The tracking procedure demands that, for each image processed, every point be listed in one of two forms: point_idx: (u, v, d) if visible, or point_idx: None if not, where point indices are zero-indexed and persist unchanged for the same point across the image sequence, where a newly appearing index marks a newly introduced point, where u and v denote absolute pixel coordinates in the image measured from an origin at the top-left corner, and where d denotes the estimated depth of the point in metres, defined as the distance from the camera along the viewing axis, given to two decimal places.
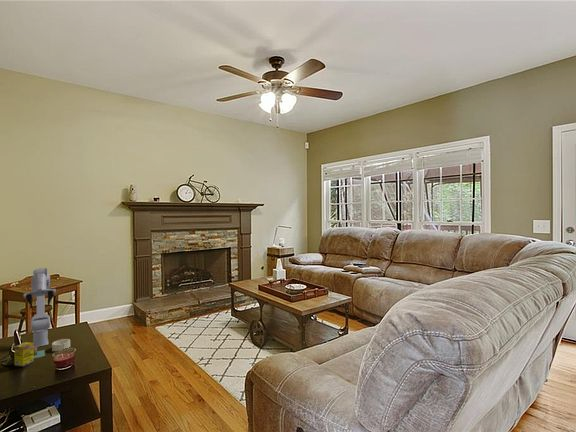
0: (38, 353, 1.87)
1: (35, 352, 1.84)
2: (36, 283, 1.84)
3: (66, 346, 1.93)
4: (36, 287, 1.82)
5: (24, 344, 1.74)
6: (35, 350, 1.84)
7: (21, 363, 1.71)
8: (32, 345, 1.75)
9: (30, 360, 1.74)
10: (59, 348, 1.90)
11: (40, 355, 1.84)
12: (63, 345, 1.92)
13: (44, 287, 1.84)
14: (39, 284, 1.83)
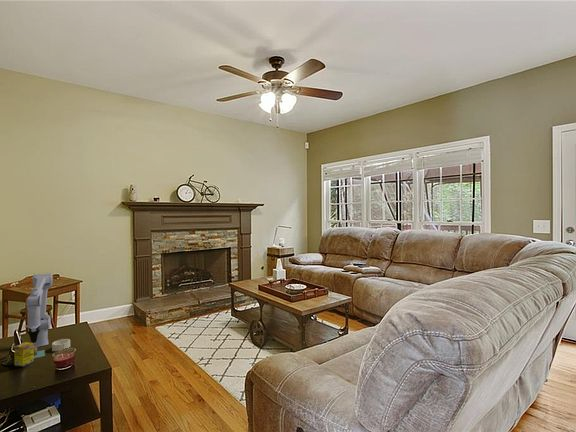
0: (38, 353, 1.87)
1: (35, 352, 1.84)
2: (29, 318, 1.82)
3: (66, 346, 1.93)
4: None
5: (24, 344, 1.74)
6: (35, 350, 1.84)
7: (21, 363, 1.71)
8: (32, 345, 1.75)
9: (30, 360, 1.74)
10: (59, 348, 1.90)
11: (40, 355, 1.84)
12: (63, 345, 1.92)
13: (29, 323, 1.82)
14: None
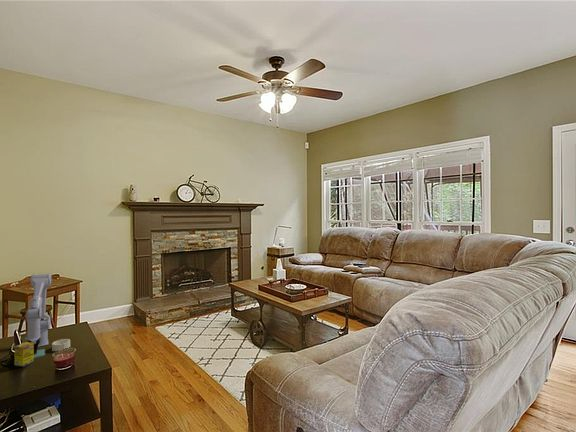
0: (38, 352, 1.87)
1: None
2: (29, 330, 1.82)
3: (66, 346, 1.93)
4: None
5: (24, 344, 1.74)
6: None
7: (21, 363, 1.71)
8: (32, 345, 1.75)
9: (30, 360, 1.74)
10: (59, 348, 1.90)
11: (40, 354, 1.84)
12: (63, 345, 1.92)
13: (29, 335, 1.82)
14: None
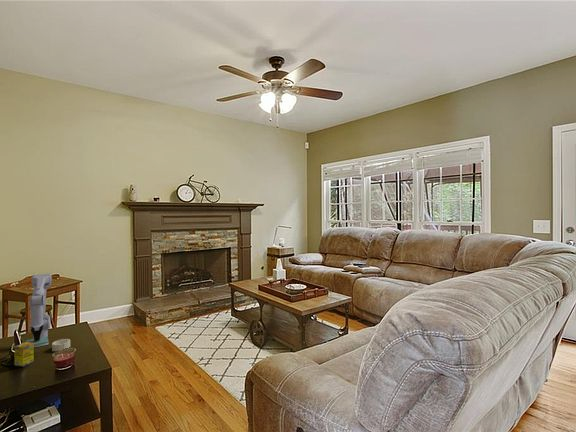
0: (41, 339, 1.88)
1: None
2: (32, 317, 1.83)
3: (66, 346, 1.93)
4: None
5: (24, 344, 1.74)
6: None
7: (21, 363, 1.71)
8: (32, 345, 1.75)
9: (30, 360, 1.74)
10: (59, 348, 1.90)
11: (43, 341, 1.85)
12: (63, 345, 1.92)
13: (32, 322, 1.83)
14: None
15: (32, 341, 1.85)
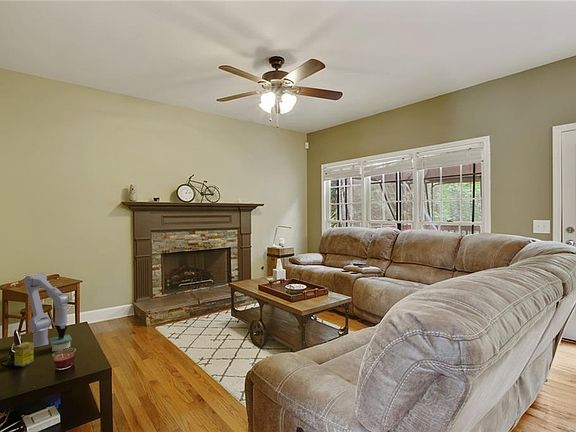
0: (64, 337, 1.96)
1: None
2: (61, 315, 1.92)
3: (66, 346, 1.93)
4: None
5: (24, 344, 1.74)
6: None
7: (21, 363, 1.71)
8: (32, 345, 1.75)
9: (30, 360, 1.74)
10: (59, 348, 1.90)
11: (67, 339, 1.94)
12: (63, 345, 1.92)
13: (57, 321, 1.92)
14: None
15: (56, 339, 1.93)
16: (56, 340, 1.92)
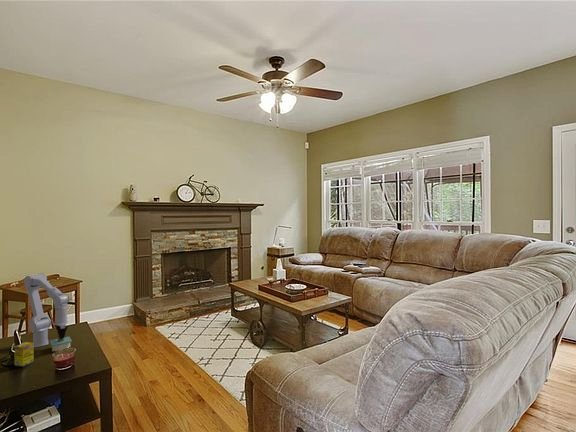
0: (64, 339, 1.96)
1: None
2: (61, 315, 1.92)
3: (66, 346, 1.93)
4: None
5: (24, 344, 1.74)
6: None
7: (21, 363, 1.71)
8: (32, 345, 1.75)
9: (30, 360, 1.74)
10: (59, 348, 1.90)
11: (67, 340, 1.94)
12: (63, 345, 1.92)
13: (57, 321, 1.92)
14: None
15: (56, 341, 1.93)
16: (56, 342, 1.92)
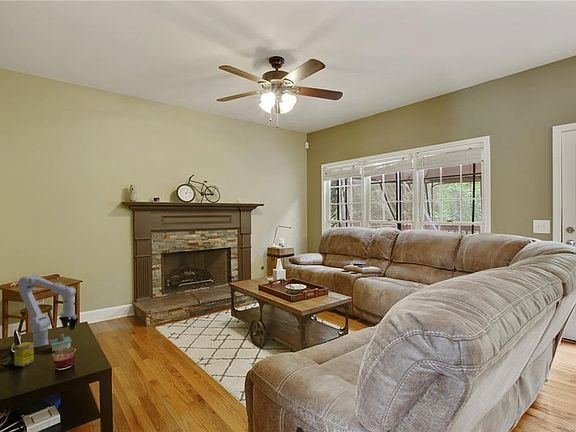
0: (64, 339, 1.96)
1: (62, 338, 1.94)
2: (70, 307, 1.99)
3: (66, 346, 1.93)
4: (63, 311, 1.99)
5: (24, 344, 1.74)
6: (62, 336, 1.94)
7: (21, 363, 1.71)
8: (32, 345, 1.75)
9: (30, 360, 1.74)
10: (59, 348, 1.90)
11: (67, 340, 1.94)
12: (63, 345, 1.92)
13: (67, 312, 1.98)
14: (63, 310, 1.98)
15: (56, 341, 1.93)
16: (56, 342, 1.92)
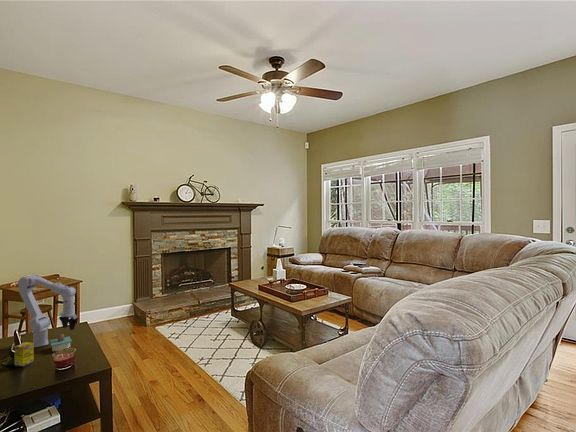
0: (64, 339, 1.96)
1: (62, 338, 1.94)
2: (70, 307, 1.99)
3: (66, 346, 1.93)
4: (63, 311, 1.99)
5: (24, 344, 1.74)
6: (62, 336, 1.94)
7: (21, 363, 1.71)
8: (32, 345, 1.75)
9: (30, 360, 1.74)
10: (59, 348, 1.90)
11: (67, 340, 1.94)
12: (63, 345, 1.92)
13: (67, 312, 1.98)
14: (63, 310, 1.98)
15: (56, 341, 1.93)
16: (56, 342, 1.92)
